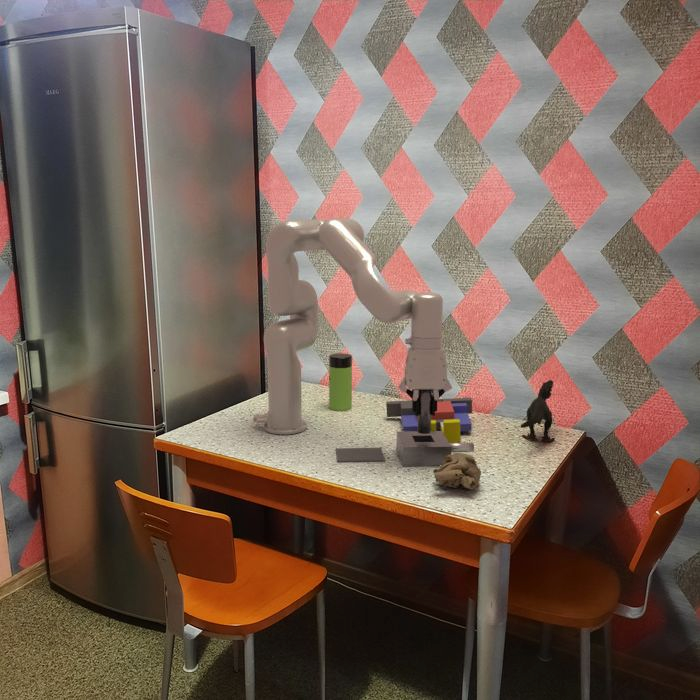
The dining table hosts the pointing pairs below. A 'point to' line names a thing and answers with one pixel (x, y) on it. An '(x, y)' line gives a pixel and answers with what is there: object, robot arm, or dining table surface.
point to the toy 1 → (436, 416)
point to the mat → (360, 455)
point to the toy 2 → (540, 413)
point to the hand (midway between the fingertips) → (424, 413)
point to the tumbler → (340, 381)
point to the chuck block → (426, 448)
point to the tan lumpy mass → (458, 471)
